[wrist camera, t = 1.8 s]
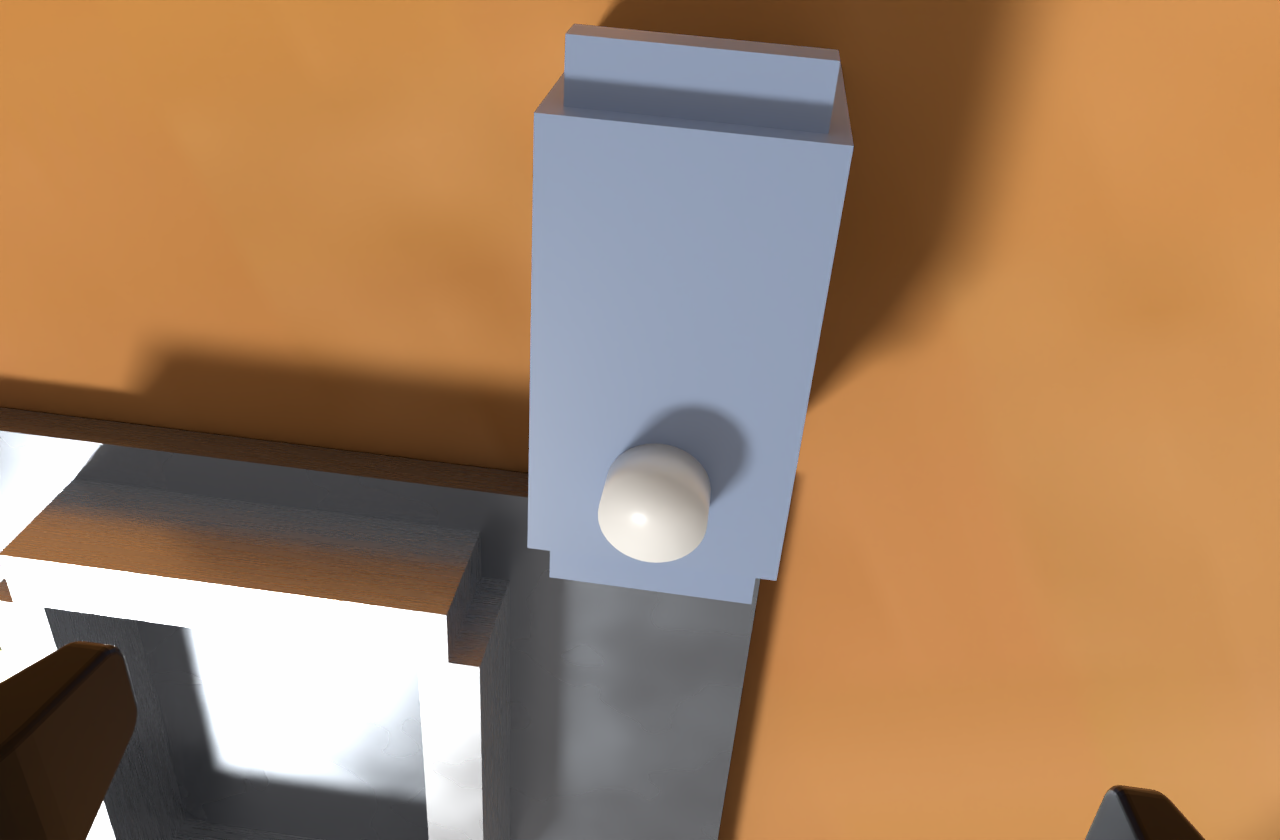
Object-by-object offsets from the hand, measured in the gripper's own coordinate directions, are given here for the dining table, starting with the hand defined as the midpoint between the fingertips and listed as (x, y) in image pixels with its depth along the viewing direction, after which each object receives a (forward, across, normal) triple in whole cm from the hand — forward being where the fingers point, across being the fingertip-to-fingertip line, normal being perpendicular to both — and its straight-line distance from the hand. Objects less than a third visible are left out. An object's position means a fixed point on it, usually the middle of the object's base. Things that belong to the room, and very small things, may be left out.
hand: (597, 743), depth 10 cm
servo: (+11, 0, 0) cm, 11 cm away
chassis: (+11, +8, +12) cm, 18 cm away
